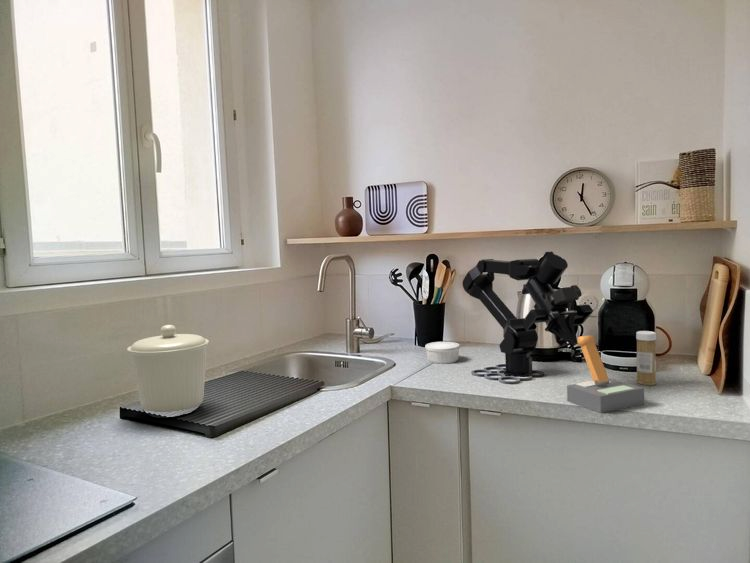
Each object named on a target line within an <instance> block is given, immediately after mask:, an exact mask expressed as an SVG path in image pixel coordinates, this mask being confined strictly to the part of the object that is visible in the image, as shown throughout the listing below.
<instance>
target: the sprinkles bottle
mask: <svg viewBox="0 0 750 563" xmlns="http://www.w3.org/2000/svg"><path fill="white" fill-rule="evenodd" d="M635 334H636V335H635V338H636V383H637V384H640V385H643V386H653V385H656V384H657V379H656V376H657V374H656V371H657V360H656V342H657V333H656V332H655V331H649V330H638V331H636V333H635Z"/></svg>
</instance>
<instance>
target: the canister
mask: <svg viewBox="0 0 750 563" xmlns="http://www.w3.org/2000/svg"><path fill="white" fill-rule="evenodd" d="M159 332H160V335H156V336H150V337H145V338H142V339H139V340H137V341H135V342H134V343H132V345H130V346H128V347H127V348H126V351H127V352H128V353H129V354H130V357H131V362H132V369H133V373H134V374H133V375H134V379H135V383H136V389H137V394H138V398H139V403H140V405H141V406H140V407H141V409H142V408H143V409H145V410H147V411H154V412H171V411H179V410H184V409H189V408H192V407H195V406H197V405H199V404H201V403H202V404H203V401H204V394H205V393H204V392H205V380H206V378H205V377H206V362H207V360H206V359H207V346H208V345H209V344H210V340H209V339H207V338H204V336H201V335H199V334H194V333H193V334H192V333H179V334H178V333H177V327H176V326H175V325H173V324H165V325H163V326H161V328H160V331H159ZM202 404H201V405H202ZM143 409H142V410H143Z"/></svg>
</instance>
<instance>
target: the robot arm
mask: <svg viewBox="0 0 750 563" xmlns="http://www.w3.org/2000/svg"><path fill="white" fill-rule="evenodd" d="M567 268H568V262H567V260H566V259H565V258H563V257H562V256H560V255H557V254H555V253H554V252H553V251H545V252H544V253H543V257H542V258H541V260H539V259H537V258H528V259H527V258H525V259H524V258H523V259H514V260H502V259H501V260H500V259H499V260H498V259H493V258H486V259H485V258H482V259H480V260H479V261H478V262H477V263H476V265H475V266H473V268H471V269H470V270H469V271H467V273H466V275H465V277H464V278H463V280H462V288H463V289H464V292H465V293H467V294H468V295H469V296H470V297H472V298H475V299H477V300H479V301H480V302H481V303H482V304H483V306H484V307H485V308H486V310H487V311H488V312H489V313H490V314H491V315H492V317H493V318H494V319H495V321H496V322H497V323H498V324H499V325H500V327H501V328H502V332H503V334H502V335H503V337H502V338H503V339H502V341H501V342H500V344H499V349H500V353H503V354H505V355H504V357H505V358H504V359H505V370H504V371H503V372H502V373H503V374H505V375H511V376H519V377H527V376H528V375H530V374H532V373H533V372H534V370H533V357H531V352H536V347H537V344H538V339H539V335H538V332H537V330H536V329H537V326H538V325H537V324H543V323H545V325H546V327H545V328H544V330H545V332H549V333H551V334H553V335H555V336H557V337H558V338H559V339H562V340H564V341H565V342H566V343H568V344H570V345H572V346H576V345H578V342H577V339H578V337H577V334H576V330H575V329H576V328H575V326H581V325H583V324H584V323H585V322H586V321H587V319H589V317H590V316H591V315H592V314H593V312H594V309H593V308H592V307H591V305H590V304H588V303H587V304H586V303H585V304H584V303H583V304H575V305H574V307H573V308H572V309H571V310H567V309H569V308H570V307H571V303H572V302H574V301H578V300H579V299H580V297H582V295H583V294H582V293H583V292H582V290H581V288H579V286H578V285H577V284H572V285H571V286H567V287H566V286H565V287H561V288H558V289H557V290H554V289H553V287H552V285H554V284H556V283H557V282H558V281H559V279H561V276H562V275H563V274H564V272H565V271H566V270H567ZM495 274H500V275H508V276H509V278H510V279H513V280H516V281H526V283H525V284H523V285H522V286H523V287H522V290H521V294H522V295H530V297H531V299H532V300H533V302H534V303H535V304H534V305H533V308H534V309H530V310H529V311H528V313H527V314H526V316H525V317H523V318H517V317H516V316H515V314H514V313H513V312H512V311H511V310H510V308H508V307H507V305H506V304H505V303H504V302H503V300H502V299H501V298H500V297H499V296H498V294H496V292H495V291H494V288H493V286H494V285H493V284H494V283H493V282H495ZM536 323H537V324H536Z"/></svg>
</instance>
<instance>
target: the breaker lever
mask: <svg viewBox="0 0 750 563" xmlns="http://www.w3.org/2000/svg"><path fill="white" fill-rule="evenodd" d="M577 345H578V346H579V347H580V349H581V352H582V354H583V357H584V359H585V362H586V364H587V367H588V370H589V373H590V375H591V377H592V381H594V383H595V385H596V386H600V385H606V384H609V376H608V374H607V371H606V368H605V366H604V363H603V360H602V357H601V356H600V352H599V350H598V348H597V345H596V338H595V337H594V335H592V334H587V335H582V336H581V335H580V336H578V337H577Z"/></svg>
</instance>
